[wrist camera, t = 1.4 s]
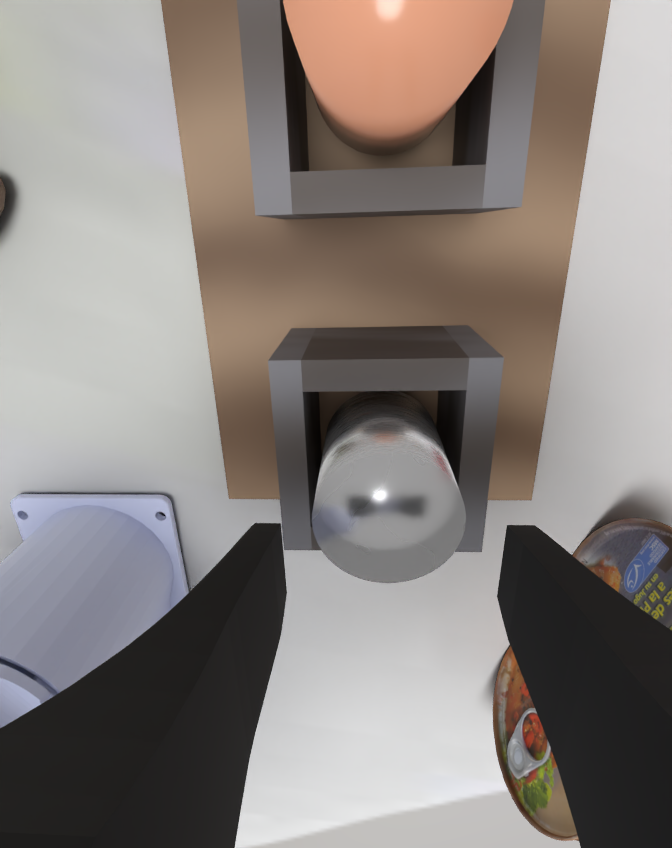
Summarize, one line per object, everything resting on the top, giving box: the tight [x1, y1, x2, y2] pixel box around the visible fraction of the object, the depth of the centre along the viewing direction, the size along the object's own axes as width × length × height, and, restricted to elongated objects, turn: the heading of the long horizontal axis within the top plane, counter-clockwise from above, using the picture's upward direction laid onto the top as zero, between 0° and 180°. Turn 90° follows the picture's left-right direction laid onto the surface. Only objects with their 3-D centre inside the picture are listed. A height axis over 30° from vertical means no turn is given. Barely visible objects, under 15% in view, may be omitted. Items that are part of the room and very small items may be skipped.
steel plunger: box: [312, 391, 466, 583], centre depth 14 cm, size 4×4×5 cm
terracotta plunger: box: [283, 0, 513, 156], centre depth 10 cm, size 4×4×5 cm
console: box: [161, 0, 611, 552], centre depth 16 cm, size 20×14×6 cm
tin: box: [493, 518, 672, 841], centre depth 20 cm, size 15×3×8 cm, turn 160°
